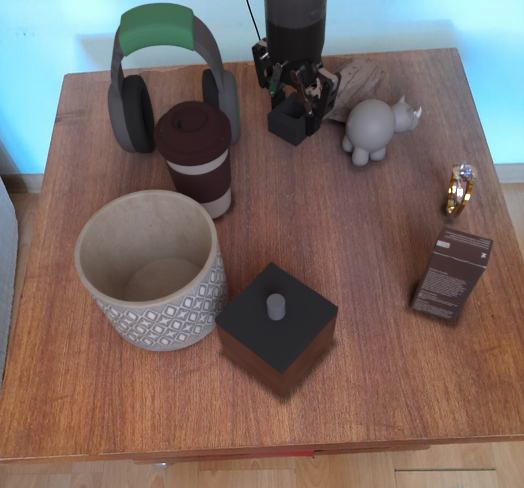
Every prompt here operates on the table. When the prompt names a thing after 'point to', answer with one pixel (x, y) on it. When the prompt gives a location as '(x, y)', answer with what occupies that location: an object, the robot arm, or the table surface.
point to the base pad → (279, 332)
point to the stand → (269, 374)
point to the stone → (355, 85)
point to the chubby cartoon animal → (376, 128)
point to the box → (451, 273)
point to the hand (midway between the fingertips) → (295, 124)
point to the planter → (154, 268)
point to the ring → (460, 188)
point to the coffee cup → (197, 153)
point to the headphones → (134, 88)
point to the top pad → (289, 120)
